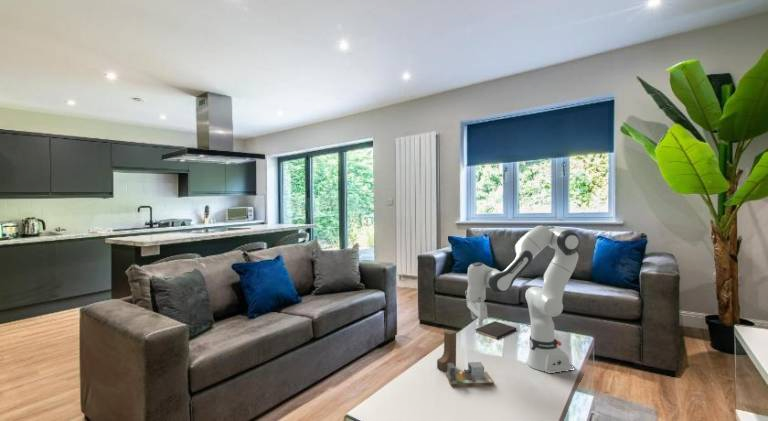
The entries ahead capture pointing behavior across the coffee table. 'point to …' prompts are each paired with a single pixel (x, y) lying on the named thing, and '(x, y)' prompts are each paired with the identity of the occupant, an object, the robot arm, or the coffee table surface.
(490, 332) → the hardcover book
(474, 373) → the block
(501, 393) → the coffee table surface
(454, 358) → the wooden block
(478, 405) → the coffee table surface
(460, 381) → the amber brick
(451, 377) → the bench
